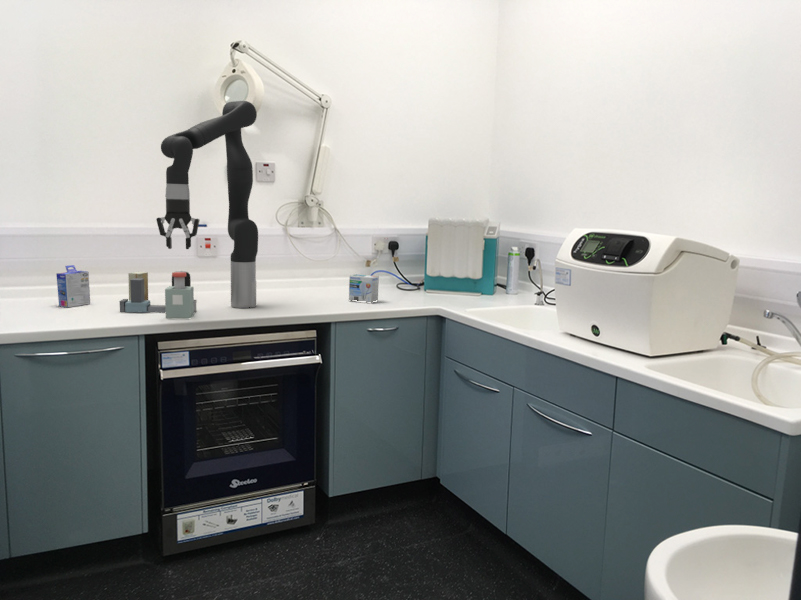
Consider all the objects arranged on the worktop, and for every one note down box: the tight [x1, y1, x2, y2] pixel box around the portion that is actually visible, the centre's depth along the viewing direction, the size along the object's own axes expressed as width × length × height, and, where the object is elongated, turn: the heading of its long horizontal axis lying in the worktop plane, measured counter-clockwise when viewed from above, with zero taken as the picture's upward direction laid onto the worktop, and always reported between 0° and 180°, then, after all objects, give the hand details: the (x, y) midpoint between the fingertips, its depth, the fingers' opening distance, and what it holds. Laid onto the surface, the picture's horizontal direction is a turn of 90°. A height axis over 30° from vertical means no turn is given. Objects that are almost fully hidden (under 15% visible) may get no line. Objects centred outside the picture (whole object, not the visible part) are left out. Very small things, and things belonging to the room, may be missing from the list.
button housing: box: [164, 285, 195, 319], centre depth 221 cm, size 8×7×10 cm
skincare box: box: [127, 271, 149, 301], centre depth 240 cm, size 6×4×12 cm
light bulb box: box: [348, 274, 380, 302], centre depth 266 cm, size 11×7×11 cm, turn 68°
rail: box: [119, 298, 197, 314], centre depth 229 cm, size 25×5×4 cm, turn 98°
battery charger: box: [171, 270, 192, 287], centre depth 253 cm, size 7×4×11 cm, turn 109°
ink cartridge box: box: [55, 265, 91, 308], centre depth 235 cm, size 10×6×14 cm, turn 155°
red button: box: [171, 271, 187, 289], centre depth 220 cm, size 5×5×10 cm
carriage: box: [125, 278, 151, 313], centre depth 228 cm, size 7×6×11 cm
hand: (178, 248), depth 218 cm, fingers open, 5 cm apart
